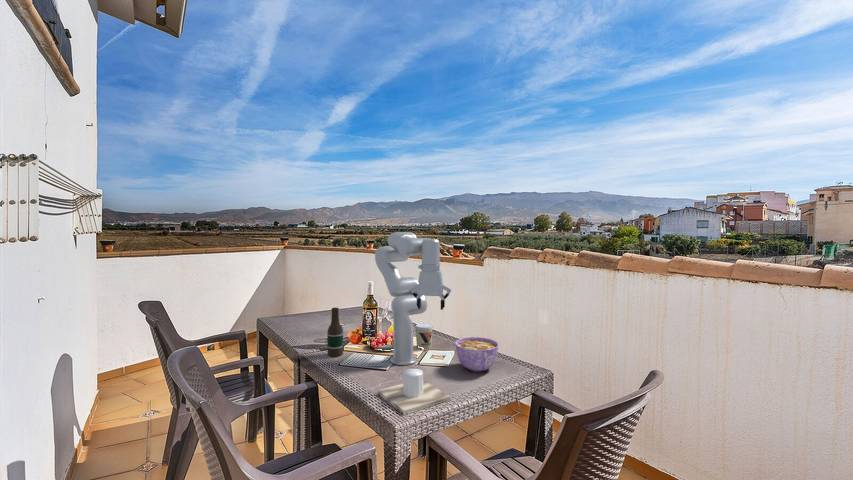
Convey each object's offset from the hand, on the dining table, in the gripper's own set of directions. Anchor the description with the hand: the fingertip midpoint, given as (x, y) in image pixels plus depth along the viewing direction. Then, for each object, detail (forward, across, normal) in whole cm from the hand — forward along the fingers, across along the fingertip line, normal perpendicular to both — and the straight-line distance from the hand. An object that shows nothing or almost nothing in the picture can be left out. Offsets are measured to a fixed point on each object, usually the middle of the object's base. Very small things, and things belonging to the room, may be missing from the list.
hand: (430, 308), depth 161 cm
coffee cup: (+31, -11, +42) cm, 53 cm away
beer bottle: (+31, -53, +22) cm, 65 cm away
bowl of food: (+31, +18, +17) cm, 39 cm away
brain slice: (+31, -32, +38) cm, 59 cm away
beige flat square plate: (+30, -4, -18) cm, 35 cm away
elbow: (+29, -4, -16) cm, 33 cm away
